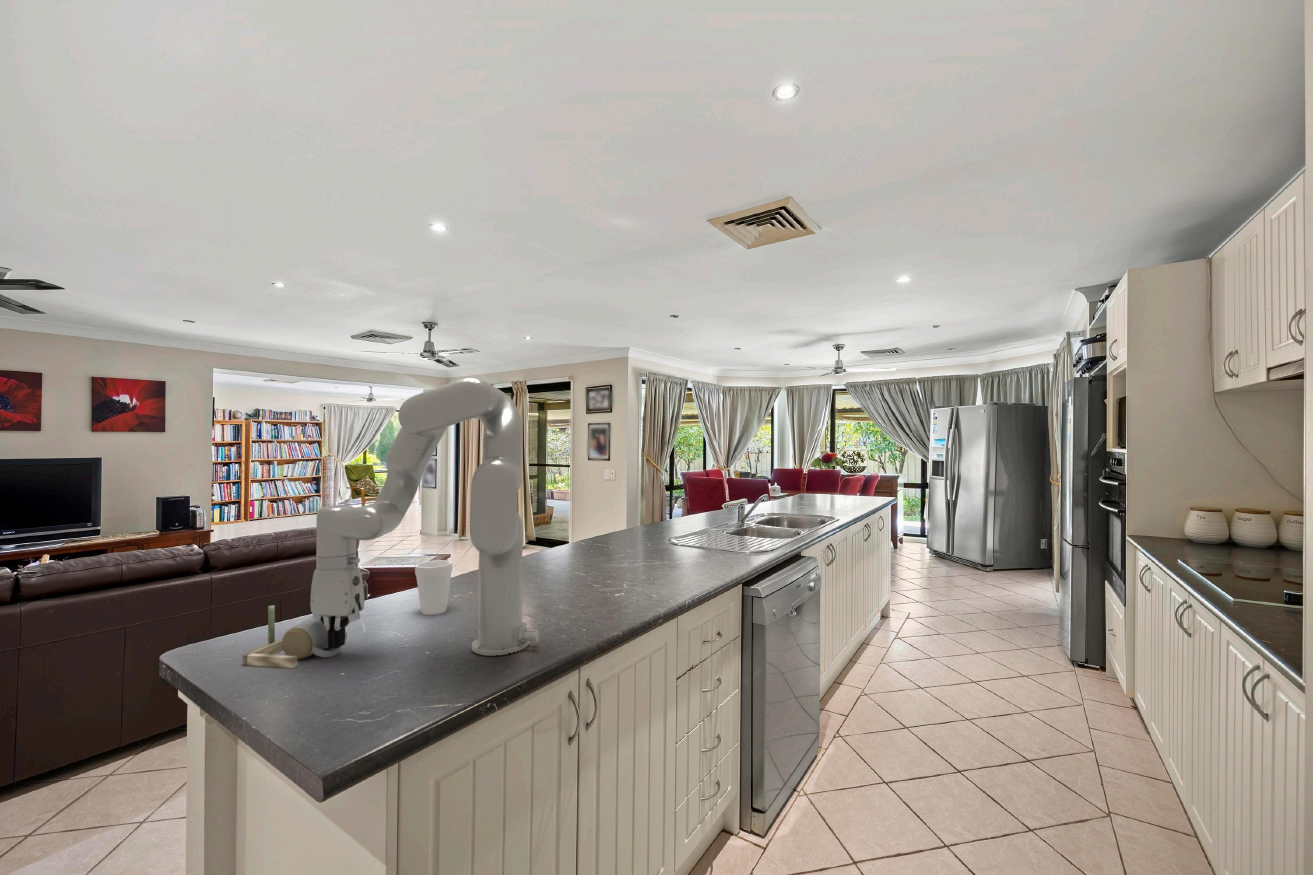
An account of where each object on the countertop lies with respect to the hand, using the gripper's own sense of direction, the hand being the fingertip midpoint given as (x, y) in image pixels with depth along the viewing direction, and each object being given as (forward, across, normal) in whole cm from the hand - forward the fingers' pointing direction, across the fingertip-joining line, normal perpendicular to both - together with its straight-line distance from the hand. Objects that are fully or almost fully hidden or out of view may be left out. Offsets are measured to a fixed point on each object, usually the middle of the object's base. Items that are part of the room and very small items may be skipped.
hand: (336, 646), depth 120 cm
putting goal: (+2, +10, 0) cm, 10 cm away
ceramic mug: (+2, +5, 0) cm, 6 cm away
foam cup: (+2, -4, -32) cm, 32 cm away
